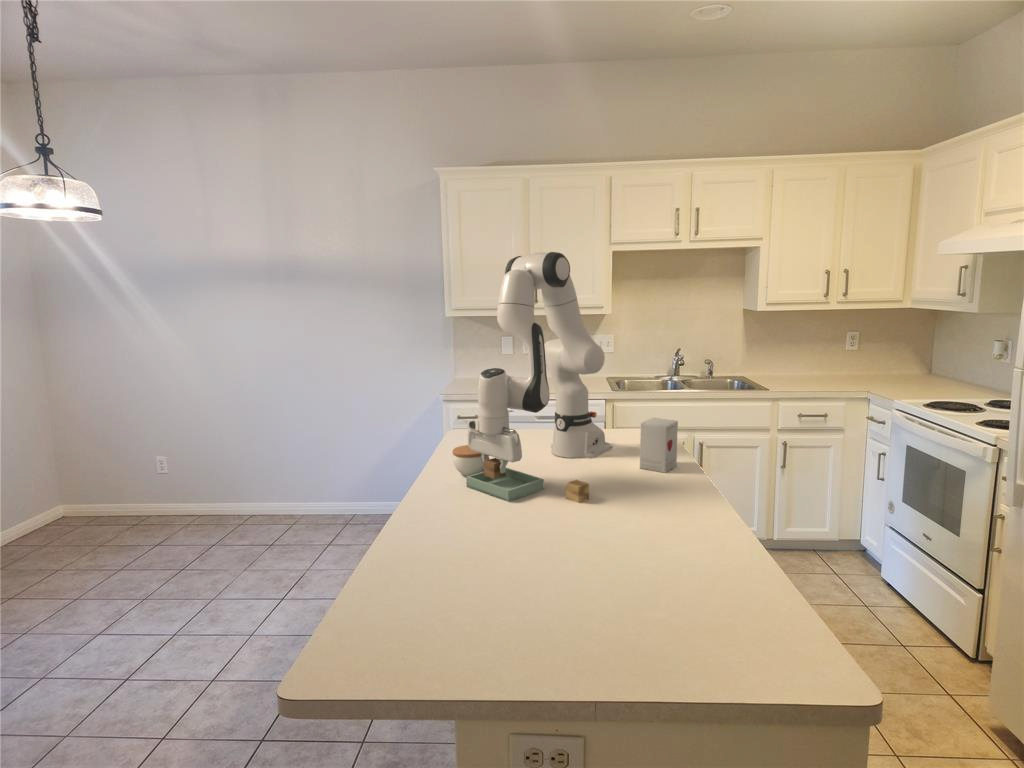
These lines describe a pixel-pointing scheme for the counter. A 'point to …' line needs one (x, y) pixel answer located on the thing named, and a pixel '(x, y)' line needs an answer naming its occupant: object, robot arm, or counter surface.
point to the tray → (506, 484)
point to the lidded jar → (467, 460)
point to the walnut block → (492, 468)
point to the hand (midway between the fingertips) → (494, 470)
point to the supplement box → (658, 444)
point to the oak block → (577, 491)
